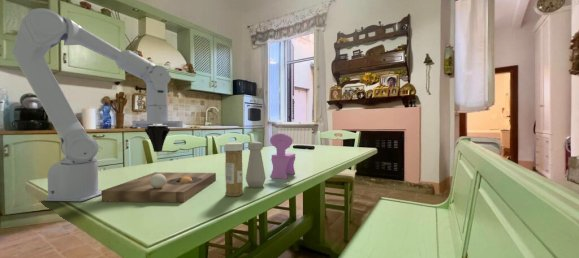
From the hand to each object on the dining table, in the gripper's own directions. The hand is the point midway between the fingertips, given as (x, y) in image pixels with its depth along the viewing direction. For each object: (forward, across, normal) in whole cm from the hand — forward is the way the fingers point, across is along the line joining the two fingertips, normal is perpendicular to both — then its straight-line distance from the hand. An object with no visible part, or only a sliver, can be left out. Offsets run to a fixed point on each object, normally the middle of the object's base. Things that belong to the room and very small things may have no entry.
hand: (158, 151), depth 77 cm
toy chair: (+10, -37, -14) cm, 41 cm away
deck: (+10, -6, +6) cm, 13 cm away
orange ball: (+8, -11, +6) cm, 15 cm away
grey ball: (+6, -8, +14) cm, 17 cm away
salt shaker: (+10, -30, +1) cm, 32 cm away
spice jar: (+10, -26, +10) cm, 30 cm away
